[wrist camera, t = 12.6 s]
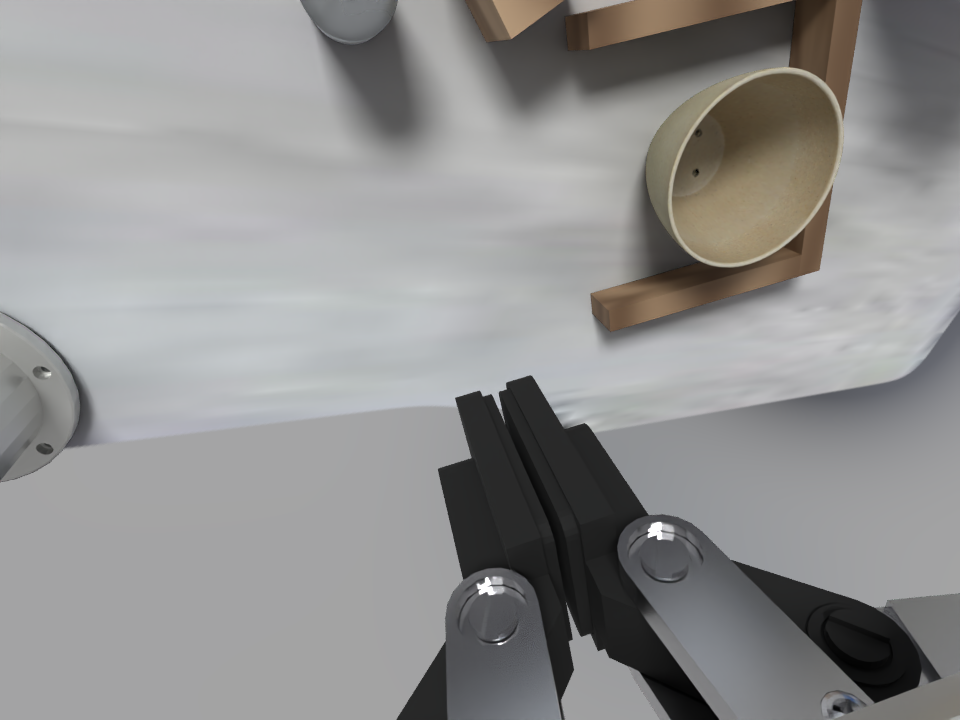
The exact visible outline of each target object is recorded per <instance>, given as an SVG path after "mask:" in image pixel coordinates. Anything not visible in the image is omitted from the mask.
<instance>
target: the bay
mask: <svg viewBox="0 0 960 720" xmlns="http://www.w3.org/2000/svg"><path fill="white" fill-rule="evenodd" d="M789 1H793V0H634V1H630V2H625V3H621V4H617V5H613V6H608V7H604V8H600V9H596V10H591V11H587V12H583V13H579V14H574V15H570V16H566V17H565V22H566V33H567V44H568V51H572V50H591V49H595V48H599V47H603V46H607V45H611V44H615V43H620V42H624V41H628V40H632V39H636V38H640V37H644V36H648V35H653V34H657V33H661V32H665V31H669V30H673V29H677V28H681V27H686V26H690V25H694V24H698V23H702V22H706V21H710V20H714V19H719V18H723V17H727V16H731V15H735V14H739V13H743V12H747V11H751V10H756V9H760V8H764V7H768V6H772V5H776V4H780V3H784V2H789ZM861 6H862V0H796V5H795V15H794V25H793V34H792V44H791V54H790V63H789V68H798V69H802V70H805V71H808V72H810V73H812V74H814V75H816V76H817V77H819V78H820V79H821V80H822V81H824V82H825V83H826V84H827V86H828V87H829V88H830V89H831V90H832V92H833V93H834V95H835V97H836V99H837V101H838V104H839V107H840V110H841V113H842V119H844V112H845V106H846V100H847V94H848V87H849V81H850V75H851V69H852V62H853V56H854V50H855V43H856V37H857V31H858V25H859V18H860V12H861ZM832 188H833V185H832V187H831V189H830V191H829V193H828V195H827V197H826V199H825V200H824V202H823V204H822V206H821V207H820V209H819V210H818V212H817V213H816V214H815V216H814V217H813V218H812V219H811V221H810V222H809V223H808V224H807V225H806V227H805V228H804V229H803V230H802V231H801V232H800V233H799V234H798V235H797V236H796V237H795V238H794V239H792V240H791V241H790V242H789V243H788V244H786V245H785V246H784V247H782V248H781V249H779V250H778V251H776V252H775V253H773V254H771V255H769V256H768V257H766V258H764V259H762V260H760V261H757V262H754V263H752V264H748V265H745V266H739V267H715V266H711V265H708V264H705V263H702V262H699V263H696V264H692V265H689V266H685V267H682V268H678V269H675V270H671V271H668V272H664V273H661V274H657V275H654V276H650V277H647V278H643V279H640V280H636V281H633V282H630V283H626V284H623V285H619V286H616V287H612V288H609V289H605V290H602V291H598V292H595V293H591V303H592V314H593V315H594V316H595V317H596V318H597V319H598V320H599V321H600V322H601V323H602V324H603V325H604V326H605V327H606V328H607V329H608V330H609V331H610V332H612V331H615V330H619V329H622V328H625V327H629V326H632V325H636V324H639V323H642V322H646V321H649V320H652V319H656V318H659V317H663V316H666V315H669V314H673V313H676V312H680V311H683V310H686V309H690V308H693V307H697V306H700V305H703V304H707V303H710V302H713V301H717V300H720V299H724V298H727V297H730V296H734V295H737V294H741V293H744V292H747V291H751V290H754V289H758V288H761V287H764V286H768V285H771V284H774V283H778V282H781V281H785V280H788V279H791V278H795V277H798V276H802V275H805V274H808V273H812V272H815V271H819V269H820V263H821V257H822V251H823V244H824V238H825V232H826V225H827V219H828V213H829V207H830V200H831V194H832Z"/></svg>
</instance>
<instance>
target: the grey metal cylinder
mask: <svg viewBox="0 0 960 720" xmlns="http://www.w3.org/2000/svg"><path fill="white" fill-rule="evenodd" d="M300 1H301V3H302V5H303V7H304V9H305V10H306V12H307V13H308V15H309V16H310V18H311V19H312V20H313V22H314V23H315V24H316V25H317V27H318V28H319V29H320V30H321V31H322V32H323V33H324V34H325V35H327V36H328V37H329V38H331V39H333V40H335V41H337V42H339V43H343V44H348V45H356V44H361V43H364V42H366V41H368V40H370V39H371V38H373V37H374V36H375V35H377V34H378V33H379V32H381V31H382V30H383V29H384V28H385V27H386V25H387V24H388V23H389V22H390V20H391V18H392V16H393V14H394V12H395V9H396V6H397V2H398V0H300Z"/></svg>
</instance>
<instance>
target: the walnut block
mask: <svg viewBox="0 0 960 720" xmlns="http://www.w3.org/2000/svg"><path fill="white" fill-rule="evenodd" d="M465 1H466V3H467V5H468V7H469V9H470V11H471V13H472V15H473V17H474V19H475V21H476V23H477V25H478V27H479V29H480V31H481V33H482V35H483V36H484V38H485V40H486V42H493V41H501V40H509V39H512V38H514V37H515V36H516V35H518V34H519V33H520V32H522V31H523V30H525V29H526V28H527V27H529V26H530V25H531V24H533V23H534V22H535V21H537V20H538V19H539V18H541V17H542V16H543V15H545V14H546V13H548V12H549V11H550V10H552V9H553V8H554V7H556V6H557V5H558V4H560V3H561V2H562V1H564V0H465Z"/></svg>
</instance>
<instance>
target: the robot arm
mask: <svg viewBox="0 0 960 720" xmlns="http://www.w3.org/2000/svg"><path fill="white" fill-rule="evenodd" d="M506 387H507V390H504V391H500V392H499V397H500V402H501V406H502V411H503V416H504V420H505V423H504V421H503V419H502V416H501V414H500V412H499V409H498V407H497V405H496V403H495V401H494V398H493V396H492V395H491V394H490V395H487V396H484V397H483V396H482V394H481V392H480V391H477V392H473V393H470V394H467V395H463V396H460V397H457V398H455V399H456V403H457V407H458V410H459V413H460V417H461V421H462V425H463V428H464V432H465V435H466V439H467V443H468V446H469V450H470V454H471V457H472V458H471V459H468V460H464V461H461V462H458V463H455V464H451V465H449V466H445V467H442V468H439V469H438V472H439V477H440V481H441V485H442V490H443V494H444V498H445V503H446V507H447V511H448V515H449V520H450V524H451V529H452V533H453V537H454V542H455V546H456V550H457V555H458V559H459V563H460V568H461V572H462V576H463V581H462V582H461V583H460V584H459V585H458V587H457V588H456V589H455V590H454V591H453V593H452V595H451V597H450V599H449V601H448V604H447V609H446V616H445V630H446V642H445V643H444V645H443V646H442V648H441V650H440V651H439V653H438V654H437V656H436V658H435V659H434V661H433V662H432V664H431V665H430V667H429V669H428V670H427V672H426V673H425V675H424V677H423V678H422V680H421V681H420V683H419V685H418V686H417V688H416V690H415V691H414V693H413V694H412V696H411V697H410V699H409V700H408V702H407V704H406V705H405V707H404V709H403V710H402V712H401V713H400V715H399V716H398V718H397V720H565V716H564V712H563V706H562V702H561V699H562V696H563V694H564V692H565V689H566V687H567V685H568V682H569V680H570V678H571V675H572V673H573V671H574V668H573V662H572V657H571V652H570V647H569V641H570V640H572V632H571V627H570V622H569V616H568V611H567V605H568V608H569V610H570V612H571V615H572V617H573V620H574V622H575V625H576V627H577V630H578V632H579V634H580V636H581V637H582V636H585V635H587V634H591V636H592V638H593V640H594V643H595V645H596V647H597V650H598V651H600V650H603V649H606V652H607V654H608V656H609V658H612V659H614V660H616V661H618V662H620V663H622V664H625V665H627V666H628V667H629V669H630V671H631V674H632V676H633V678H634V680H635V681H636V683H637V684H638V686H639V687H640V689H641V691H642V692H643V694H644V695H645V697H646V698H647V700H648V701H649V702H650V704H651V706H652V708H653V709H654V711H655V712H656V714H657V715H658V717H659V718H660V720H960V593H958V594H947V595H937V596H926V597H916V598H906V599H894V600H887V603H886V606H885V607H877V608H874V607H871V606H869V605H867V604H865V603H862V602H860V601H858V600H854V599H852V598H848V597H845V596H842V595H839V594H836V593H833V592H829V591H826V590H823V589H820V588H817V587H814V586H811V585H808V584H805V583H801V582H798V581H795V580H792V579H789V578H786V577H783V576H780V575H777V574H774V573H770V572H767V571H764V570H761V569H758V568H754V567H751V566H749V565H745V564H742V563H739V562H736V561H733V560H730V559H729V558H728V557H727V556H726V555H725V554H724V553H723V552H722V551H721V550H720V549H719V548H718V547H717V546H716V545H715V544H714V543H713V542H712V541H711V540H710V539H709V538H708V537H707V536H706V535H705V534H704V533H703V532H702V531H701V530H700V529H698V528H697V527H696V526H694V525H693V524H692V523H690V522H688V521H686V520H683V519H681V518H679V517H674V516H670V515H663V514H661V515H648V513H647V512H646V511H645V509H644V508H643V506H642V505H641V503H640V502H639V500H638V499H637V497H636V496H635V494H634V493H633V491H632V490H631V488H630V487H629V485H628V484H627V482H626V481H625V479H624V478H623V476H622V475H621V473H620V472H619V470H618V469H617V467H616V466H615V464H614V463H613V462H612V460H611V459H610V457H609V455H608V454H607V453H606V451H605V449H604V448H603V447H602V445H601V444H600V442H599V441H598V439H597V438H596V436H595V435H594V433H593V432H592V430H591V429H590V428H589V426H588V425H587V424H585V423H584V424H580V425H577V426H574V427H571V428H567V429H564V428H563V427H562V425H561V423H560V422H559V420H558V418H557V417H556V415H555V413H554V412H553V410H552V408H551V407H550V405H549V403H548V402H547V400H546V398H545V397H544V395H543V393H542V392H541V390H540V388H539V387H538V385H537V383H536V382H535V380H534V378H533V377H532V376H531V375H530V376H527V377H524V378H520V379H517V380H513V381H510V382H507V383H506ZM79 415H80V401H79V393H78V389H77V387H76V384H75V382H74V379H73V377H72V375H71V373H70V371H69V370H68V368H67V367H66V365H65V364H64V362H63V361H62V359H61V358H60V357H59V356H58V355H57V354H56V353H55V352H54V350H53V349H52V348H51V347H50V346H49V345H48V344H47V343H46V342H45V341H44V340H42V339H41V338H40V337H38V336H37V335H36V334H35V333H33V332H32V331H31V330H29V329H28V328H27V327H25V326H24V325H22V324H20V323H19V322H17V321H15V320H13V319H12V318H10V317H8V316H6V315H4V314H3V313H1V312H0V482H3V481H9V480H14V479H17V478H20V477H22V476H25V475H28V474H30V473H33V472H35V471H37V470H38V469H40V468H41V467H43V466H45V465H47V464H48V463H50V462H51V461H52V460H53V459H54V458H55V457H56V456H57V455H58V454H59V453H60V452H61V451H62V450H63V449H64V447H65V446H66V445H67V443H68V442H69V441H70V439H71V438H72V436H73V434H74V432H75V429H76V427H77V425H78V422H79ZM566 603H567V605H566Z"/></svg>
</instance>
